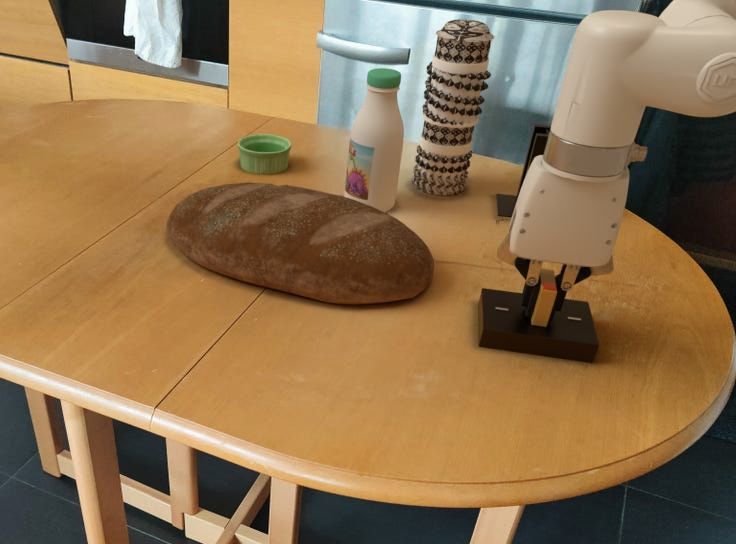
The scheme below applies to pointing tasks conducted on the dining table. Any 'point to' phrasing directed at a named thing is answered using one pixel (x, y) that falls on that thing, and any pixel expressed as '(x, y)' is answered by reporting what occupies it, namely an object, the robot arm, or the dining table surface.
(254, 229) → the bread
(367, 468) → the dining table surface
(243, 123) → the dining table surface
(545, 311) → the lock knob
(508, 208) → the latch bracket
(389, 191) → the milk bottle
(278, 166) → the ramekin
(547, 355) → the plate
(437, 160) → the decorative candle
